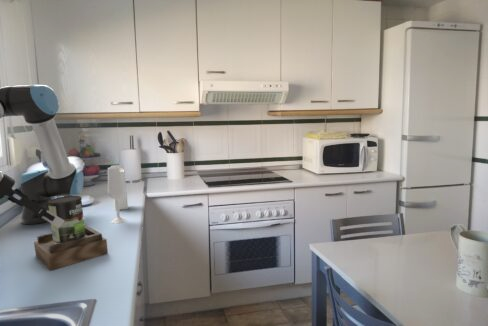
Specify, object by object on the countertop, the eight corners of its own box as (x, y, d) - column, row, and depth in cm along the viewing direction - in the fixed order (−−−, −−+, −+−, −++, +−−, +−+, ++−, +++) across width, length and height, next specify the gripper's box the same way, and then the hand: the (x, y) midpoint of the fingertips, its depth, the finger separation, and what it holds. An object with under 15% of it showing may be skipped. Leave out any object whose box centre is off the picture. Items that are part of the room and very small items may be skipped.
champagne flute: (114, 219, 168) (108, 166, 164) (129, 218, 167) (123, 166, 164) (108, 223, 161) (102, 169, 158) (123, 223, 161) (118, 168, 157)
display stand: (50, 270, 114) (47, 249, 113) (35, 255, 128) (33, 236, 127) (107, 253, 126) (105, 233, 125) (88, 241, 139) (86, 223, 138)
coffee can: (92, 234, 130) (87, 195, 128) (73, 245, 120) (67, 203, 118) (66, 234, 132) (61, 195, 130) (45, 244, 122) (40, 203, 120)
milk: (114, 208, 188) (109, 165, 185) (126, 206, 191) (122, 163, 188) (115, 210, 183) (110, 166, 179) (128, 208, 185) (123, 165, 182)
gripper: (-21, 188, 118) (37, 222, 130) (-8, 199, 100) (59, 238, 112) (-4, 169, 121) (51, 204, 133) (12, 177, 102) (75, 217, 114)
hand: (55, 220), depth 122 cm, fingers open, 13 cm apart
